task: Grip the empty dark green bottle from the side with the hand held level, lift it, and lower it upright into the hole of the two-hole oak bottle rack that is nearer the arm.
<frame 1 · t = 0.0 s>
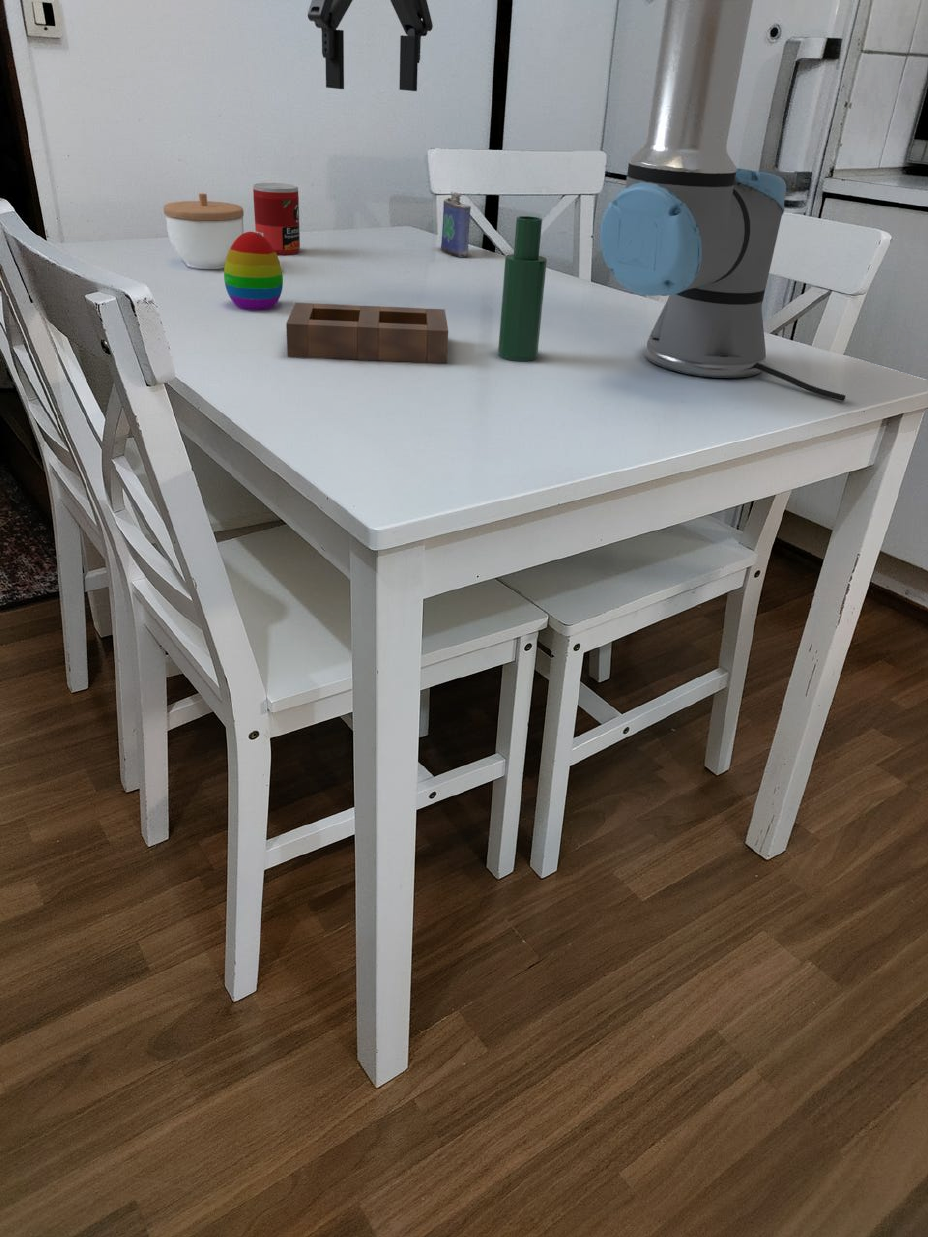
hand: (372, 89, 126), 28 cm above the table, tool pointing down, fingers open, 13 cm apart
lidded bowl: (208, 266, 157), on the table
rack: (369, 347, 119), on the table
flask: (453, 253, 179), on the table
canned food: (278, 252, 171), on the table
bottle: (517, 355, 120), on the table
decorative egg: (255, 306, 135), on the table
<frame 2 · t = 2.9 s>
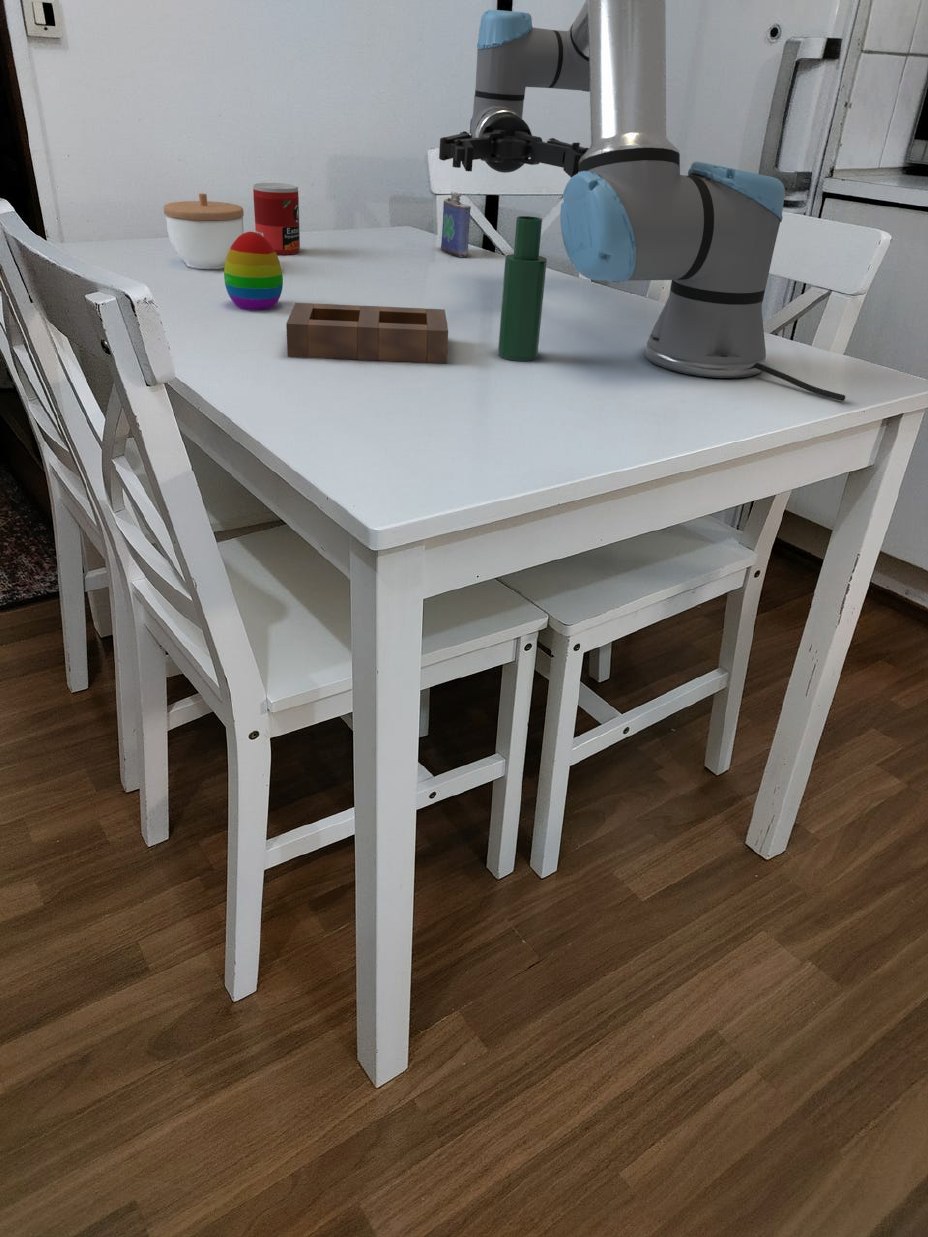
hand: (523, 163, 117), 22 cm above the table, tool horizontal, fingers open, 13 cm apart
nothing on the table moved.
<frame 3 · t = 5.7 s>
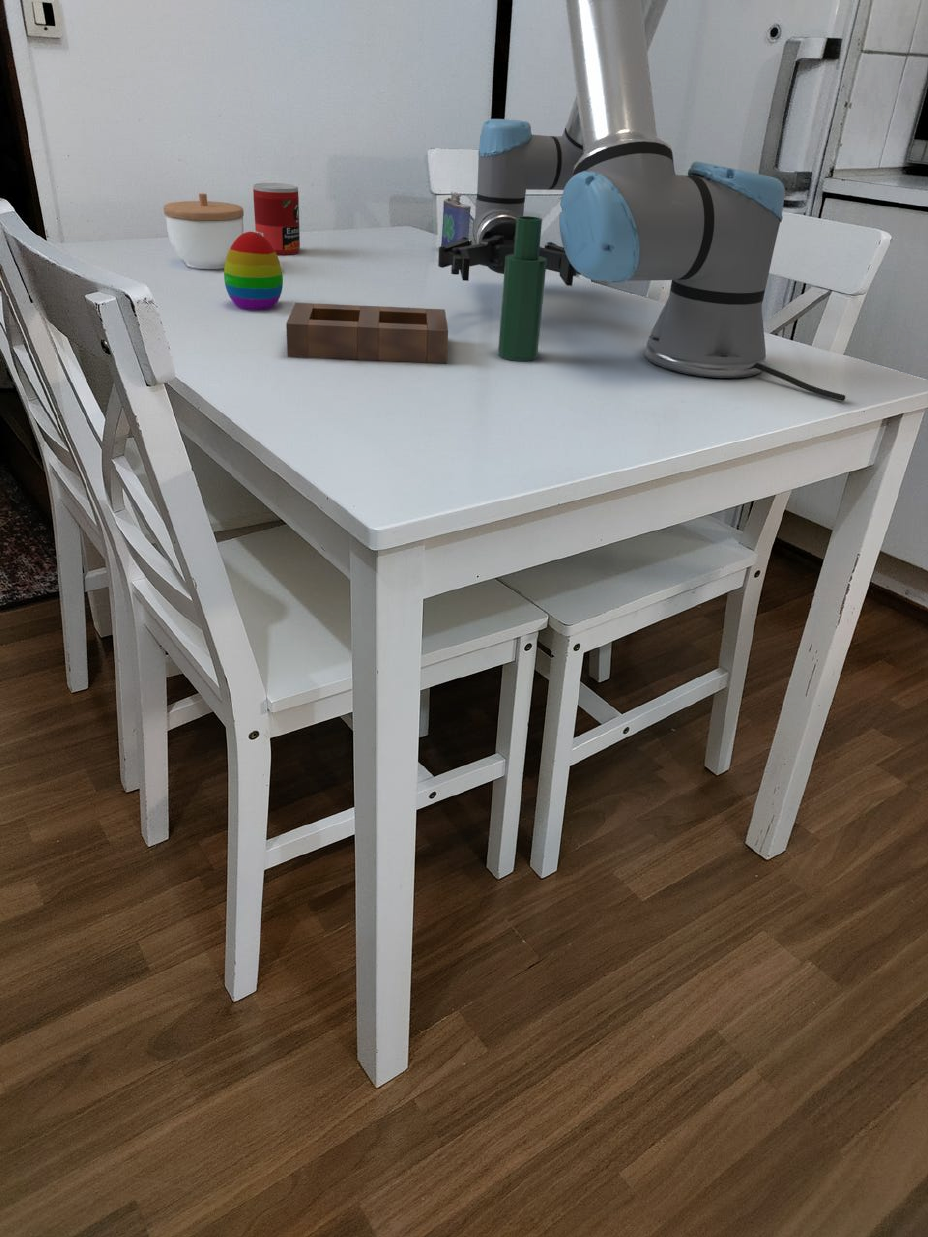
hand: (518, 272, 120), 9 cm above the table, tool horizontal, fingers open, 13 cm apart
nothing on the table moved.
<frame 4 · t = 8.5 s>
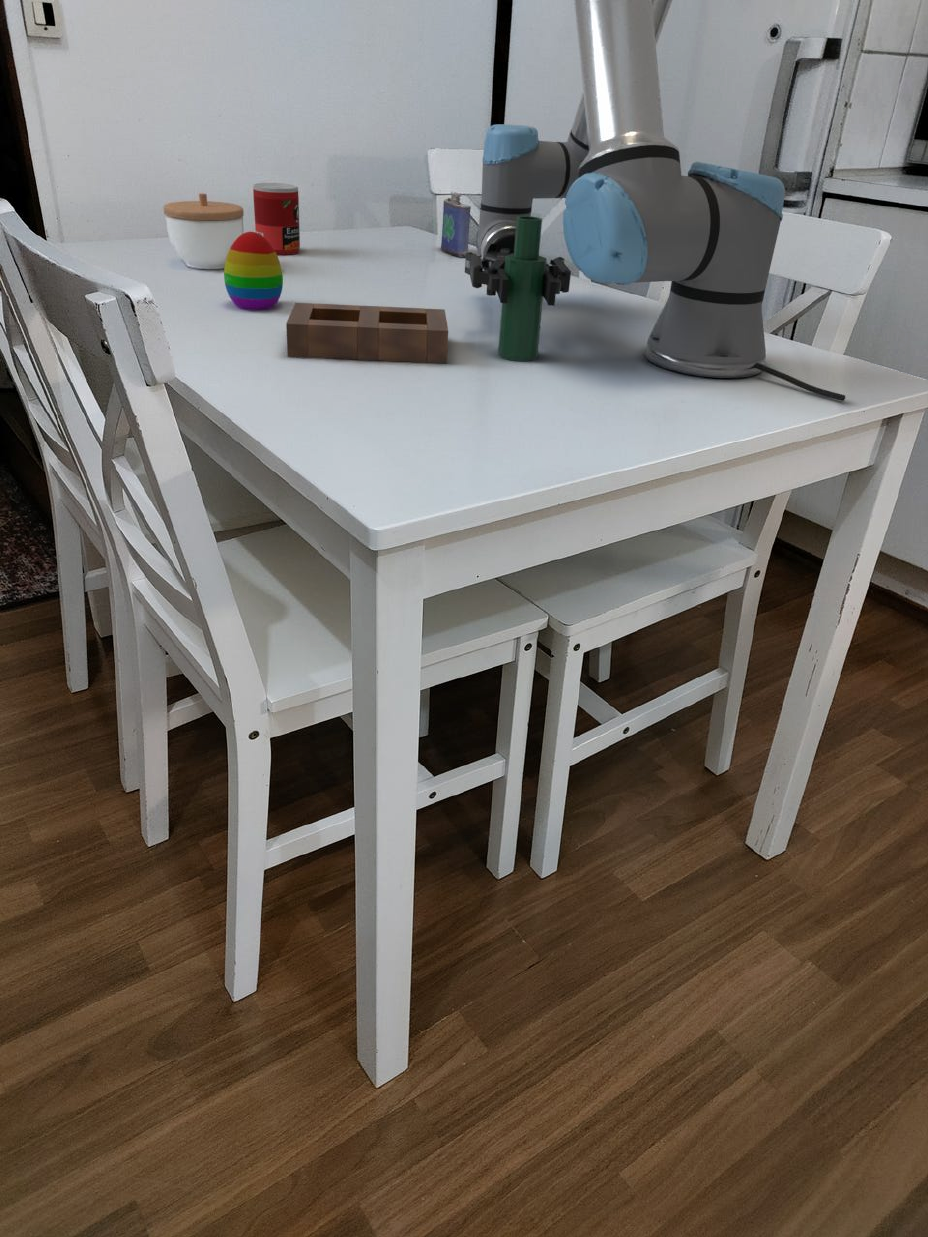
hand: (528, 292, 111), 9 cm above the table, tool horizontal, fingers closed on bottle, 5 cm apart
bottle: (517, 355, 120), on the table, touching gripper
everything else where it was.
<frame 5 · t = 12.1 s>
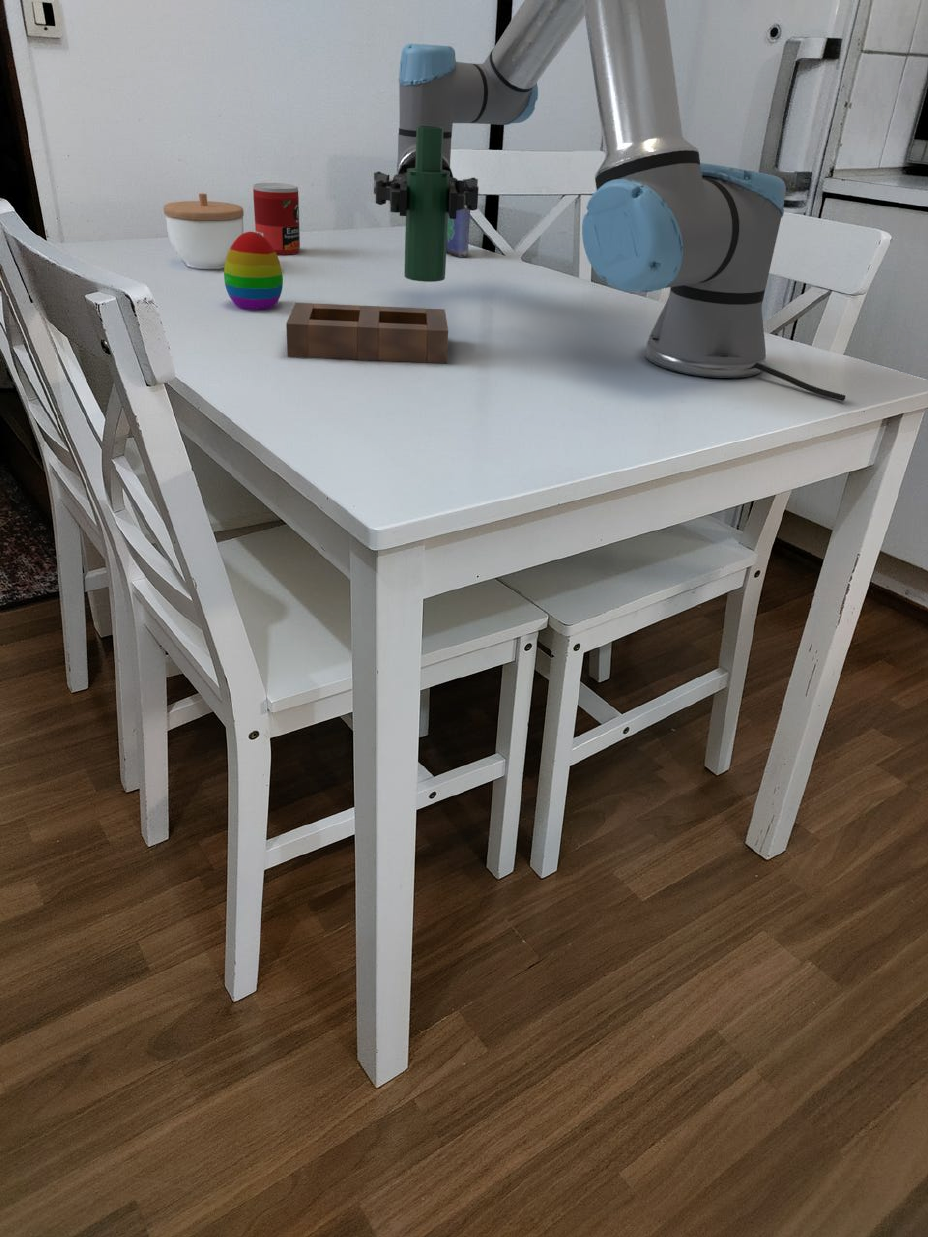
hand: (428, 204, 106), 18 cm above the table, tool horizontal, fingers closed on bottle, 5 cm apart
bottle: (424, 277, 115), point 9 cm above the table, touching gripper
everything else where it was.
when the fingers open (9 cm above the table, at t = 15.9 s): bottle stays where it is, resting in rack.
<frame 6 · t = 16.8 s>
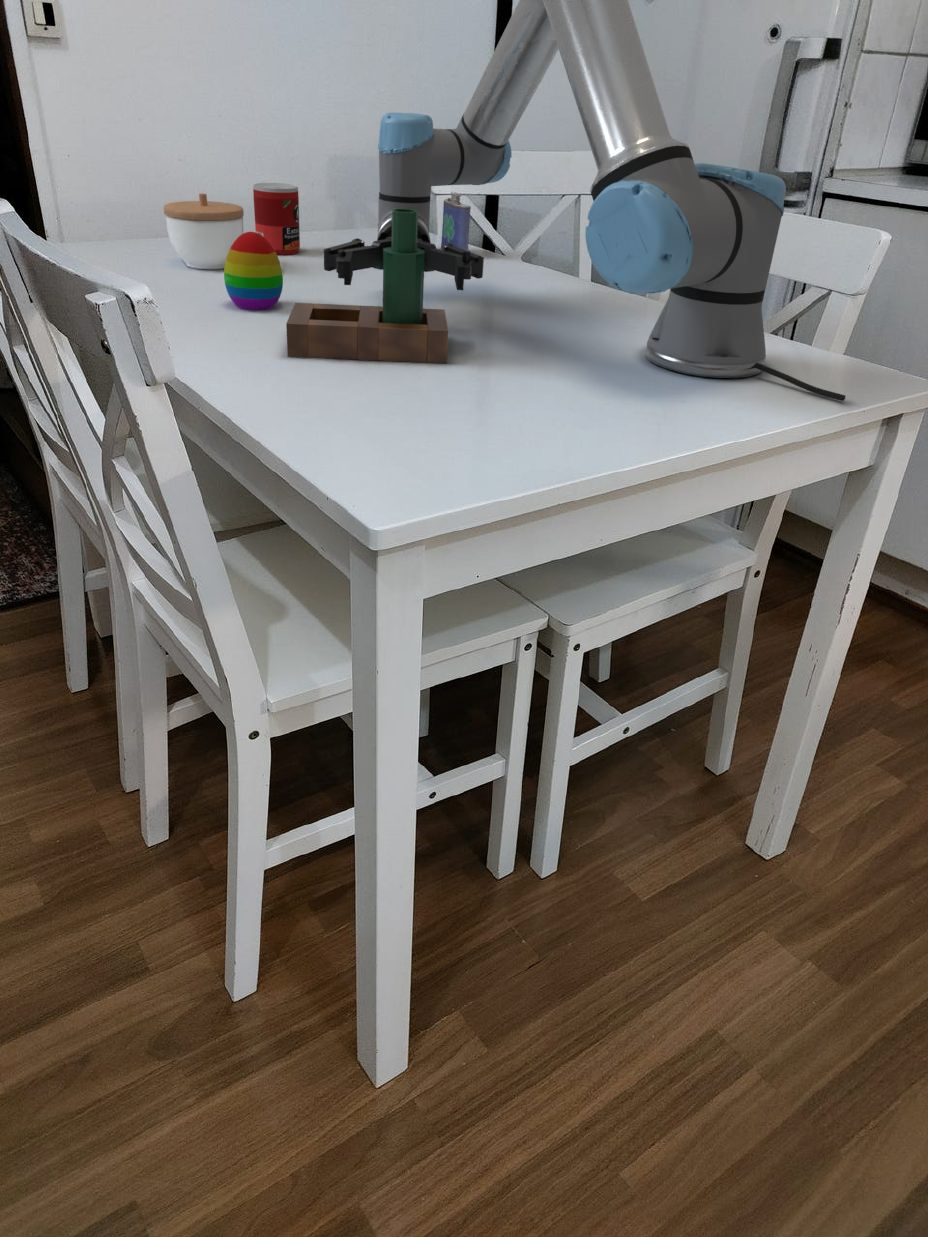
hand: (404, 275, 112), 10 cm above the table, tool horizontal, fingers open, 13 cm apart
bottle: (401, 349, 120), resting in rack
everything else where it was.
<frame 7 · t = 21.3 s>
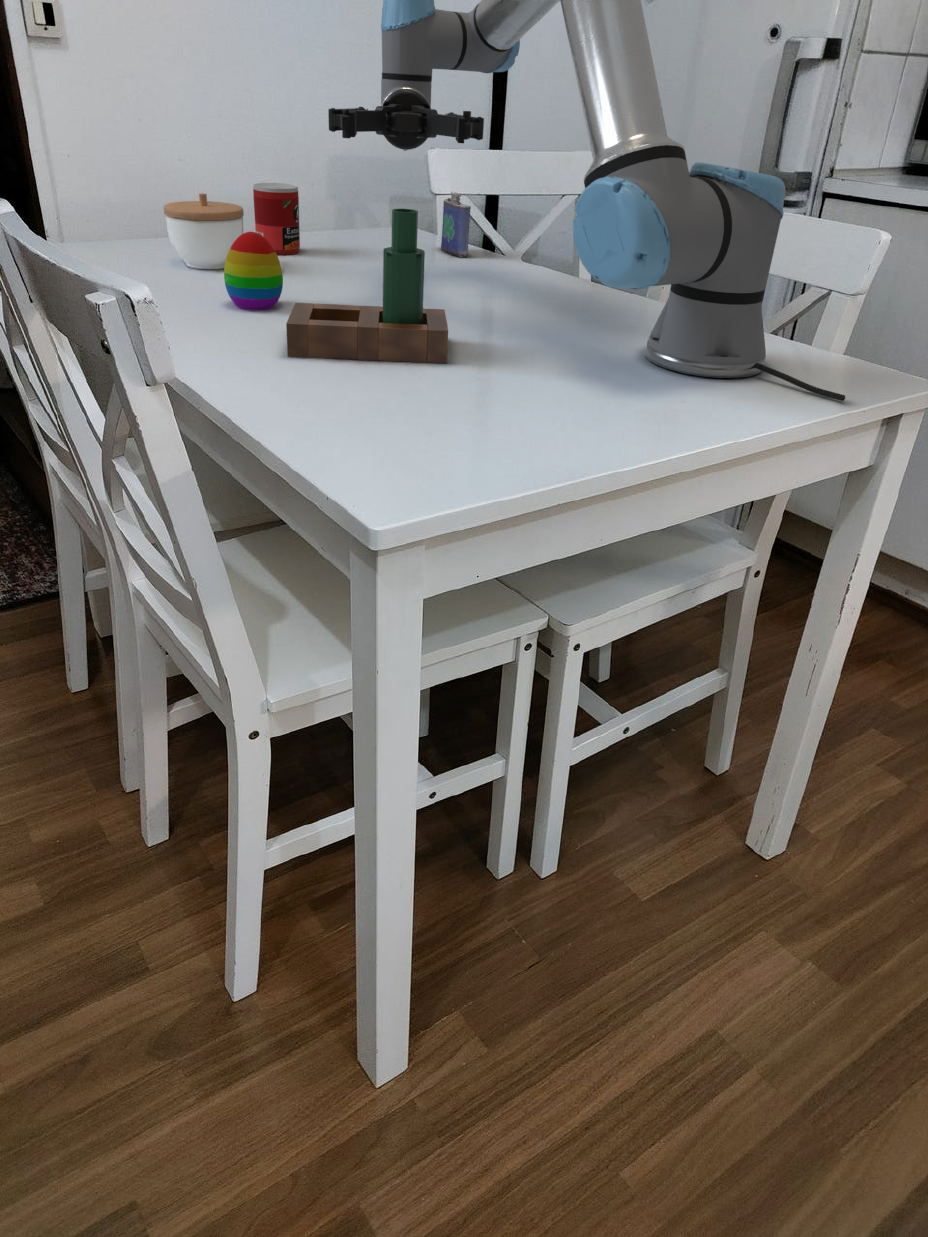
hand: (406, 127, 115), 25 cm above the table, tool horizontal, fingers open, 13 cm apart
nothing on the table moved.
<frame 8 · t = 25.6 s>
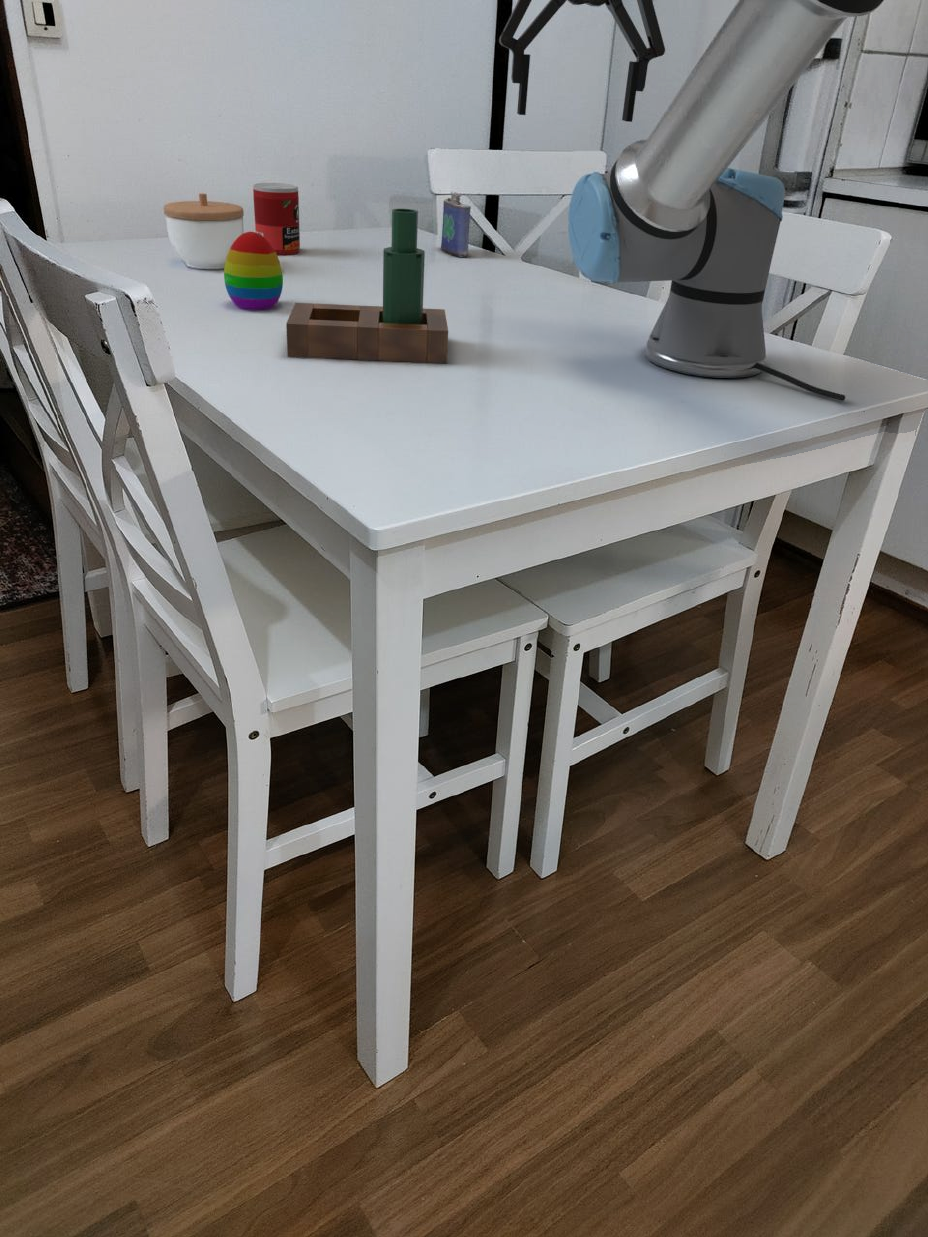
hand: (574, 117, 118), 27 cm above the table, tool pointing down, fingers open, 13 cm apart
nothing on the table moved.
at the end: bottle 0.1 cm from the target spot in the rack, point 0.0 cm above the rack's base; bottle tilted 0°; the gripper is holding nothing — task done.
